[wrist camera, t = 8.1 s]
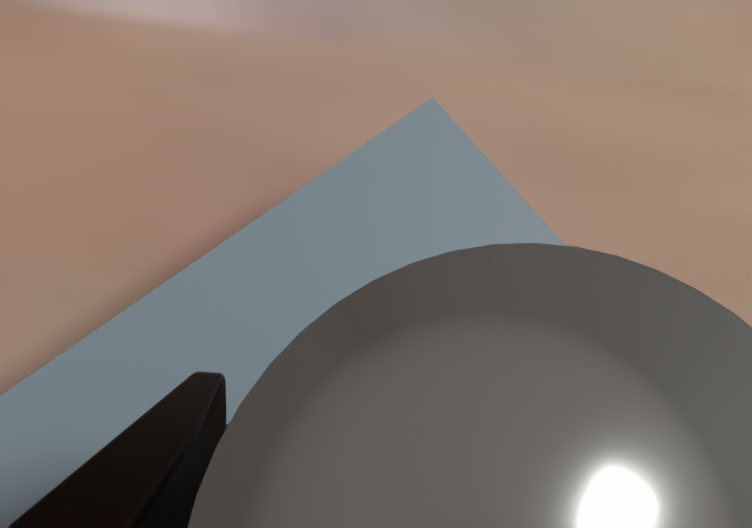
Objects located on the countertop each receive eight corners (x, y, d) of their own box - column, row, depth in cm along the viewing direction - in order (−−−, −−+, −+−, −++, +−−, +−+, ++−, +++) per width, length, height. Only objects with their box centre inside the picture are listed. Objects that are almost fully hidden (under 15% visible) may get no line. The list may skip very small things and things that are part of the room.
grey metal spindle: (479, 554, 16) (1065, 914, 3) (315, 603, 15) (260, 1264, 3) (433, 390, 17) (742, 184, 4) (278, 430, 16) (117, 329, 4)
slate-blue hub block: (717, 528, 16) (837, 549, 12) (333, 925, 13) (335, 1112, 10) (410, 173, 18) (432, 97, 15) (25, 450, 16) (-73, 446, 12)
